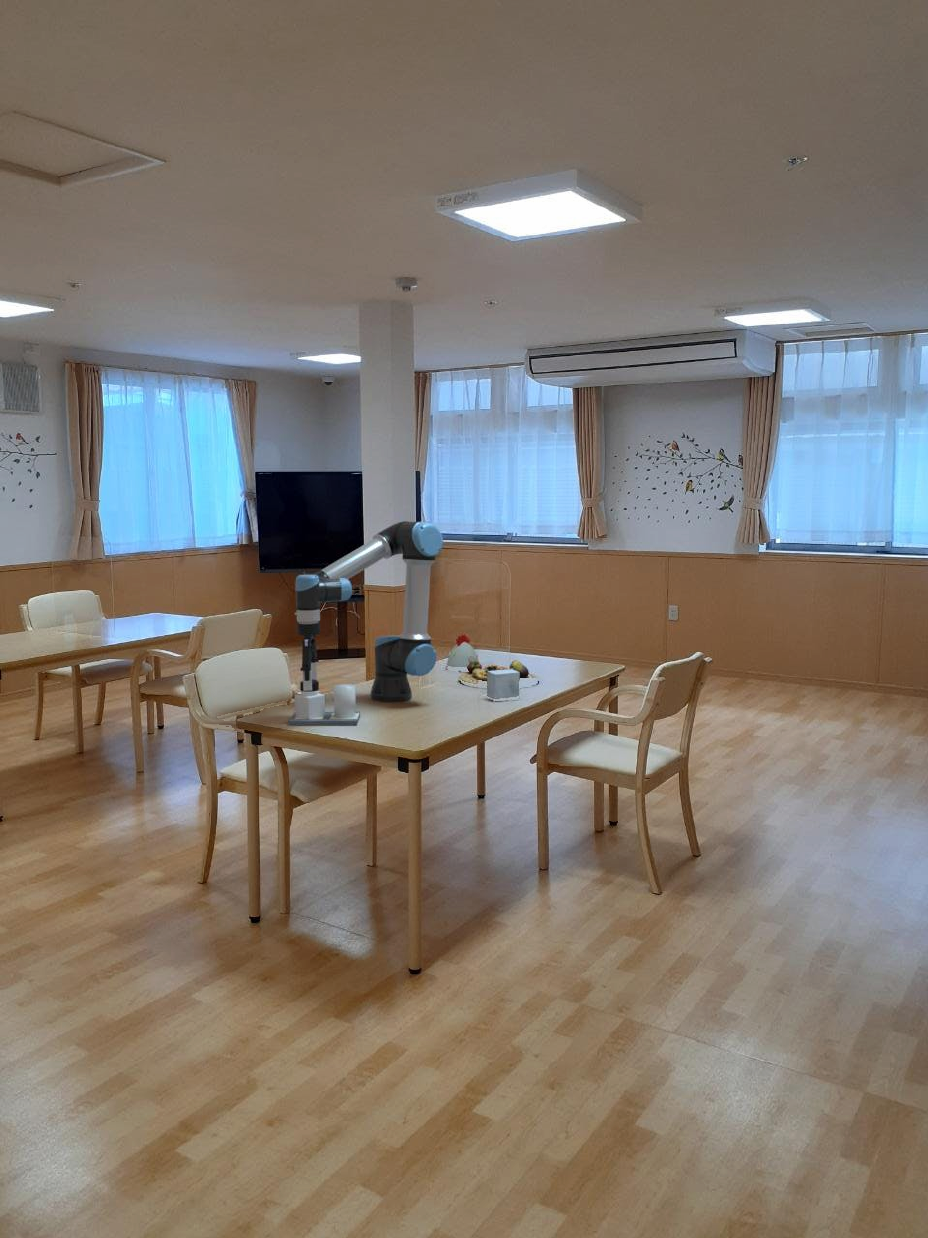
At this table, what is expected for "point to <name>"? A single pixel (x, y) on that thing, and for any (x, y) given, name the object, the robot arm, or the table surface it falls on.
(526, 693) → the table surface
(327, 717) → the dock board
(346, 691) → the plastic jar
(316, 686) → the medicine bottle
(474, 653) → the white dome figure
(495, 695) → the skincare box
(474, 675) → the wooden plate with food
